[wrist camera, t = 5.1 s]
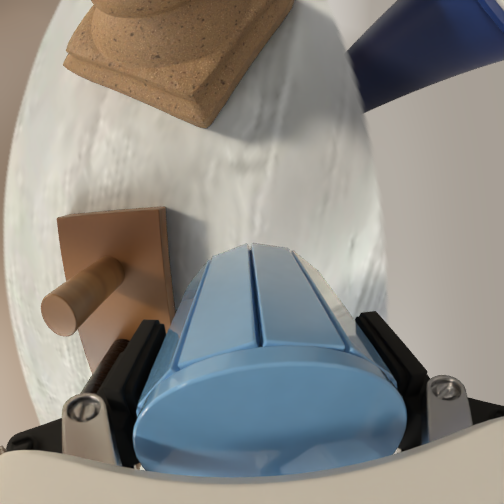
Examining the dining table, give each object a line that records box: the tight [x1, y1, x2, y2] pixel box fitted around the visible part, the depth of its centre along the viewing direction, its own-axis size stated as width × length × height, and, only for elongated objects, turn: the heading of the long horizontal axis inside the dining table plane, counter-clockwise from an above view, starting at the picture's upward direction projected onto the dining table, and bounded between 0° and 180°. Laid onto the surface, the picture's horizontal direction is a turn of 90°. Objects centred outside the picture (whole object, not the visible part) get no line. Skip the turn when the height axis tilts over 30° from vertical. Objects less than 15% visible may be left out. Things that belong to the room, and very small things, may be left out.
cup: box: [132, 243, 407, 477], centre depth 9 cm, size 7×7×8 cm
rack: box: [41, 207, 175, 470], centre depth 15 cm, size 18×7×8 cm, turn 1°
